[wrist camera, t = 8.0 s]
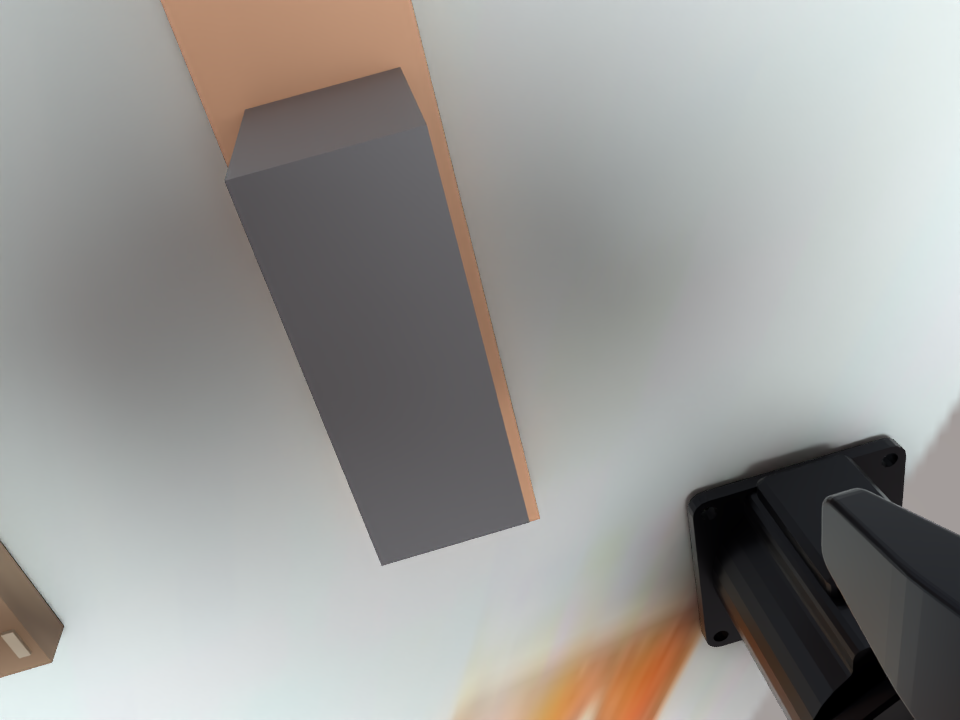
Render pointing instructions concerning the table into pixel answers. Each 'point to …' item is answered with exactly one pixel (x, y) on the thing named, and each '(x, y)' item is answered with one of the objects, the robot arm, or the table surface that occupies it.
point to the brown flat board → (24, 621)
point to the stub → (365, 255)
